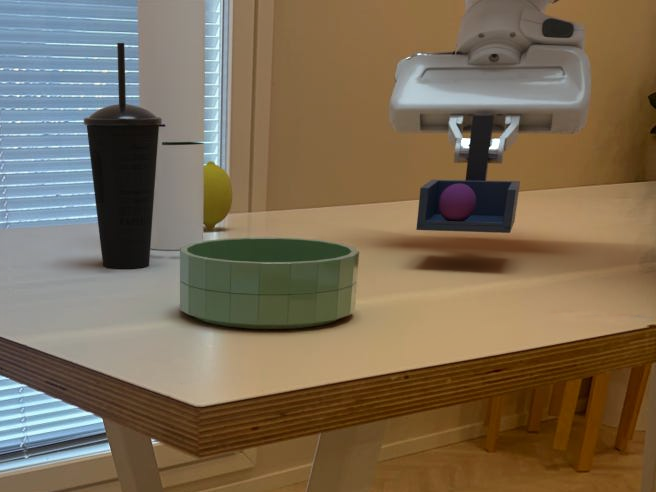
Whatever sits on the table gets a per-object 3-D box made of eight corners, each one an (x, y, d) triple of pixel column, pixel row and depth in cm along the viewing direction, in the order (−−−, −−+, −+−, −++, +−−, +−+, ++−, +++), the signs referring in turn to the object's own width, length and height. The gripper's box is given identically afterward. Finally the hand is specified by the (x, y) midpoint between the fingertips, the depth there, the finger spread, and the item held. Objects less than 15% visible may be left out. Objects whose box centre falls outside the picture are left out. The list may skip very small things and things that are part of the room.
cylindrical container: (159, 240, 123) (156, -5, 112) (213, 243, 121) (216, -8, 109) (130, 247, 118) (124, -10, 106) (186, 251, 115) (187, -12, 103)
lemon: (215, 226, 135) (216, 159, 131) (240, 230, 131) (241, 161, 127) (180, 229, 132) (180, 160, 129) (204, 233, 128) (205, 163, 125)
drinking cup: (155, 271, 103) (152, 41, 93) (81, 269, 104) (71, 42, 94) (169, 260, 110) (167, 43, 100) (99, 258, 111) (91, 44, 101)
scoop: (515, 219, 109) (530, 114, 104) (510, 233, 100) (526, 117, 95) (429, 217, 112) (439, 114, 107) (416, 230, 102) (427, 117, 97)
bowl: (366, 302, 89) (371, 241, 86) (335, 337, 77) (340, 267, 74) (208, 293, 92) (209, 234, 90) (156, 325, 81) (155, 258, 78)
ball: (469, 176, 102) (465, 175, 99) (483, 210, 102) (480, 211, 99) (435, 195, 103) (430, 195, 100) (449, 229, 104) (445, 230, 101)
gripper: (398, 29, 110) (376, 135, 106) (601, 25, 104) (585, 136, 101) (399, 77, 116) (379, 178, 112) (592, 75, 110) (576, 182, 106)
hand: (478, 159), depth 106 cm, fingers closed on scoop
